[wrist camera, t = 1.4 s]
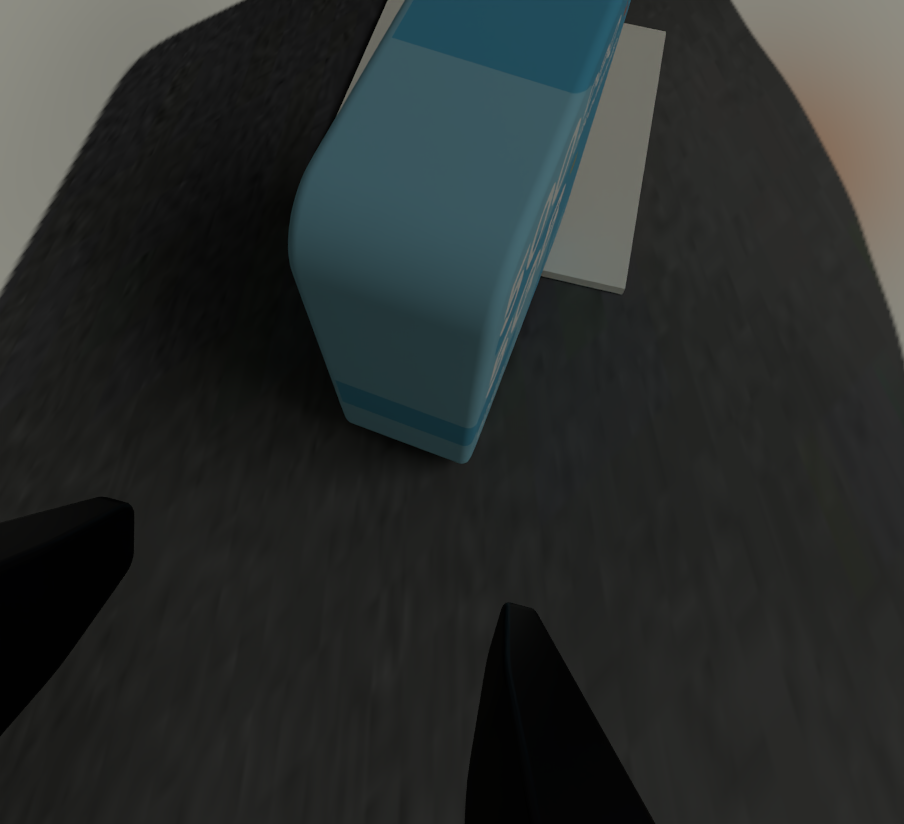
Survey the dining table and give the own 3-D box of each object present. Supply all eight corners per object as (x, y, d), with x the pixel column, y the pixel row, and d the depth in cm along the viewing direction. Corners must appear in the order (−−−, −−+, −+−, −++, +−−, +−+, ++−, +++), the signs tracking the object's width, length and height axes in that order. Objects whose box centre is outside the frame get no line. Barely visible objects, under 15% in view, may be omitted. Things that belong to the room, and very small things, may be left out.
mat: (621, 294, 25) (624, 289, 25) (295, 219, 26) (293, 212, 26) (663, 39, 32) (665, 31, 31) (398, -16, 32) (398, -24, 32)
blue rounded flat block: (464, 477, 22) (500, 303, 11) (347, 433, 23) (266, 222, 11) (562, 219, 26) (662, -101, 15) (462, 186, 27) (486, -149, 15)
